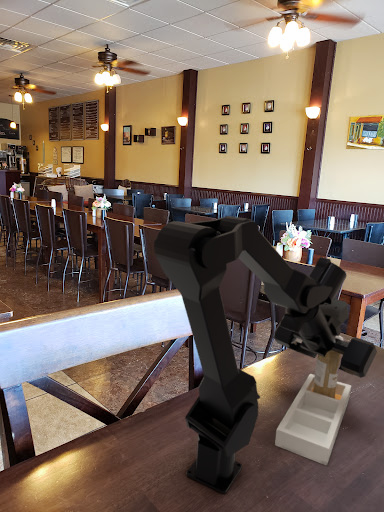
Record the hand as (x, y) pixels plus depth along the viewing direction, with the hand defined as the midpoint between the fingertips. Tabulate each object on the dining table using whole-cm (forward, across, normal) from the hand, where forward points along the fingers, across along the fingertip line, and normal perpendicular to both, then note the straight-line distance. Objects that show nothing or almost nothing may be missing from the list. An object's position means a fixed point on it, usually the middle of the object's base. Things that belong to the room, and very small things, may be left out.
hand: (332, 363), depth 80 cm
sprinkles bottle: (+4, 0, +6) cm, 8 cm away
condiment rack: (0, -2, +12) cm, 12 cm away
